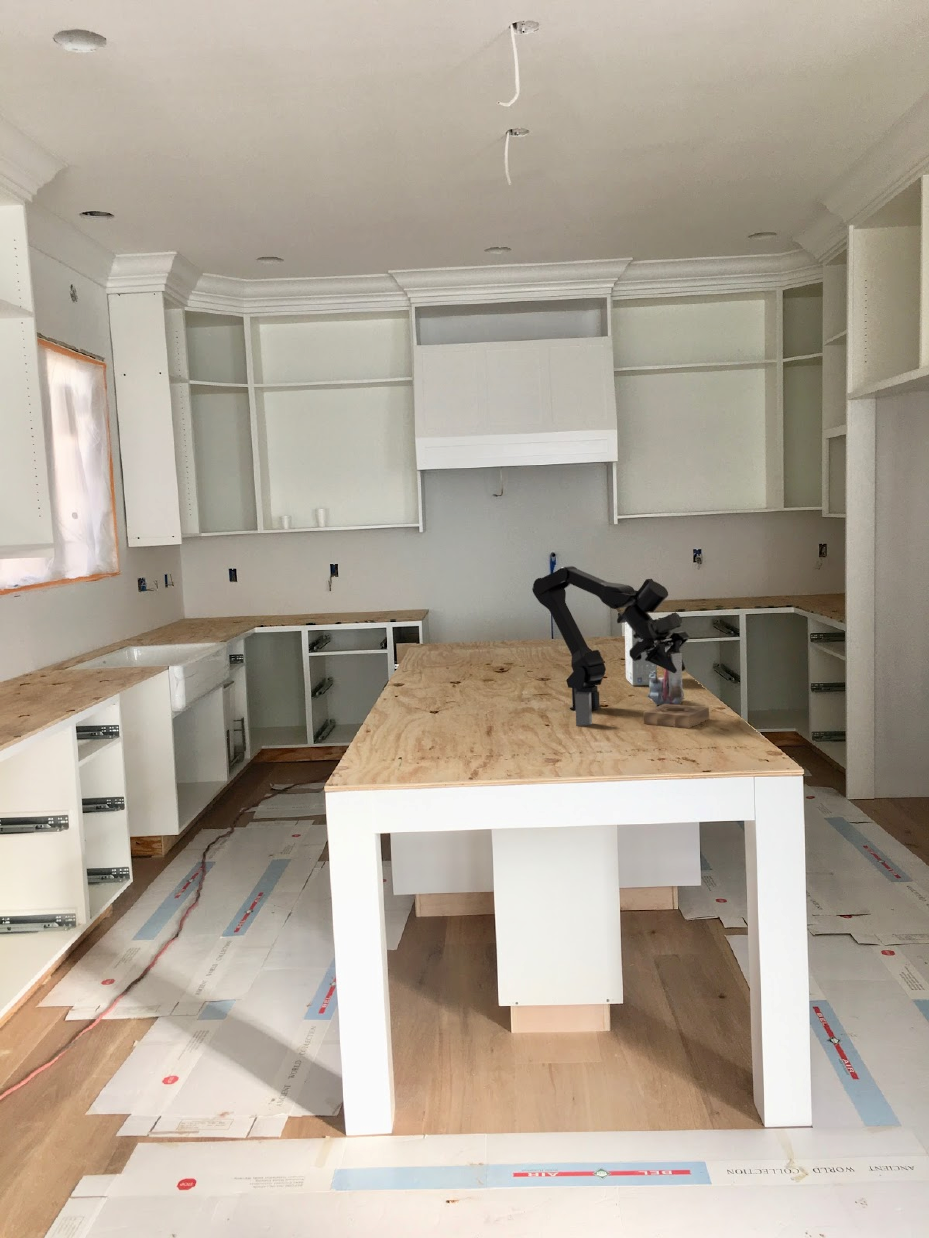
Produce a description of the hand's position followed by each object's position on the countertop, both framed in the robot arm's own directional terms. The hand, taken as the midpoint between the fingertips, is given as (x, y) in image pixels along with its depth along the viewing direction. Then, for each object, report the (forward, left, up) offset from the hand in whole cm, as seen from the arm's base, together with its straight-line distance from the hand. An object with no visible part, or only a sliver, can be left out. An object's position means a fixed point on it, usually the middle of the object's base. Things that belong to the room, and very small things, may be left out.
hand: (679, 671), depth 246 cm
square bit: (-20, -13, -13) cm, 27 cm away
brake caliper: (-14, +21, -13) cm, 29 cm away
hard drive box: (-36, +50, -13) cm, 63 cm away
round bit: (-1, 0, -7) cm, 7 cm away
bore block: (-1, 0, -13) cm, 13 cm away
